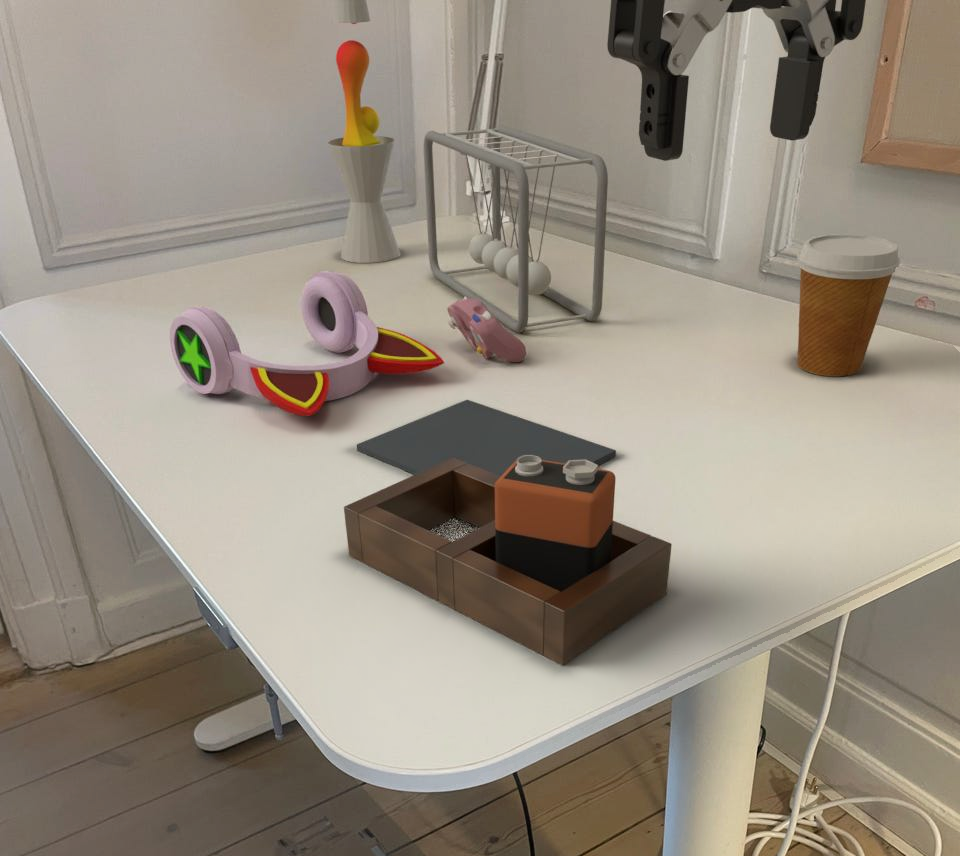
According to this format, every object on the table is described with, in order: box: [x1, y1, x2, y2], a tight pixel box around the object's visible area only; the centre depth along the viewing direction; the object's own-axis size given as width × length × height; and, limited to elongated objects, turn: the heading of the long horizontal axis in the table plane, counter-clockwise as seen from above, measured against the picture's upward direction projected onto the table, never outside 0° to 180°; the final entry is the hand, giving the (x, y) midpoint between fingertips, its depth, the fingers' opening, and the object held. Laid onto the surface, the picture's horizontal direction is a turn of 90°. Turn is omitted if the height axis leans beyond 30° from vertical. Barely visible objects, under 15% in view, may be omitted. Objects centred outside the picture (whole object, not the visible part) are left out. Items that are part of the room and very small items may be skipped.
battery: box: [495, 455, 616, 592], centre depth 65 cm, size 4×7×10 cm, turn 67°
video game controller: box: [446, 296, 527, 363], centre depth 107 cm, size 10×5×7 cm, turn 23°
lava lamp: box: [327, 0, 401, 264], centre depth 135 cm, size 9×9×35 cm
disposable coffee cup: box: [796, 233, 901, 377], centre depth 100 cm, size 10×10×12 cm
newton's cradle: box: [423, 124, 609, 333], centre depth 120 cm, size 30×10×18 cm, turn 23°
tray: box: [343, 458, 673, 666], centre depth 69 cm, size 20×11×4 cm, turn 46°
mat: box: [356, 399, 617, 476], centre depth 87 cm, size 18×14×1 cm
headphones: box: [169, 270, 445, 417], centre depth 100 cm, size 20×10×20 cm
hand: (727, 147), depth 52 cm, fingers open, 8 cm apart
